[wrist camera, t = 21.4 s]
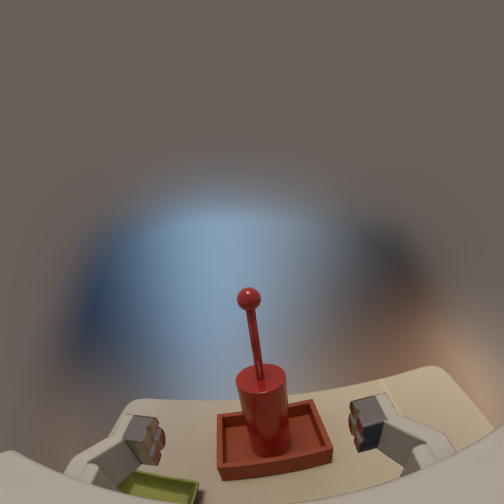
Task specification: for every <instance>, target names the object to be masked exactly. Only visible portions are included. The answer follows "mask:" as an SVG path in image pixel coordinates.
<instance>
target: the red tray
mask: <svg viewBox="0 0 504 504" xmlns="http://www.w3.org/2000/svg"><path fill="white" fill-rule="evenodd" d="M288 407H289V420H290V432H291V446H290V448H289V450H288V451H287V452H286V453H284V454H283V455H281V456H277V457H271V458H263V457H260V456H258V455H256V454H255V453H254V452H253V451H252V449H251V446H250V442H249V438H248V434H247V429H246V425H245V421H244V417H243V412H234V413H225V414H217V469H218V471H219V473H220V476H221V478H222V480H223V481H224V480H237V479H247V478H255V477H263V476H269V475H276V474H281V473H287V472H292V471H297V470H302V469H306V468H310V467H315V466H319V465H322V464H326V463H330V462H332V454H333V446H332V444H331V442H330V439H329V437H328V435H327V432H326V430H325V427H324V425H323V423H322V420H321V418H320V416H319V413H318V411H317V409H316V406H315V404H314V401H313V399H310V400H305V401H301V402H296V403H291V404H288Z"/></svg>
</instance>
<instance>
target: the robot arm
mask: <svg viewBox="0 0 504 504" xmlns="http://www.w3.org/2000/svg"><path fill="white" fill-rule="evenodd" d="M350 410H351V413H350V414H349V428H350V432H351V434H352V435H353V436H355V438H354V443H355V446H356V449H357V452H358V453H360V452H364V451H368V450H372V449H375V448H377V449H378V450H380V451H381V452H382V453H384V454H385V455H387V456H388V457H390V458H391V459H393V460H394V461H395V462H397V463H398V464H400V465H401V466H403V467H404V469H403V471H402V473H401V475H400V477H399V478H397V479H395V480H392V481H389V482H386V483H383V484H380V485H376V486H373V487H370V488H366V489H363V490H359V491H355V492H351V493H347V494H343V495H338V496H333V497H328V498H323V499H318V500H312V501H305V502H298V503H289V504H504V424H502V425H501V426H500V427H498V428H496V429H495V430H493V431H492V432H490V433H489V434H487V435H486V436H484V437H482V438H481V439H479V440H478V441H476V442H474V443H472V444H471V445H469V446H467V447H465V448H464V449H462V450H460V451H458V452H457V451H456V450H455V448H454V447H453V445H452V444H451V442H450V440H449V439H448V437H447V436H446V434H445V433H443V432H440V431H438V430H435V429H433V428H430V427H428V426H426V425H423V424H421V423H419V422H416V421H414V420H412V419H410V418H407V417H405V416H399V414H398V412H397V411H396V409H395V407H394V405H393V404H392V402H391V400H390V399H389V397H388V395H387V394H386V393H385V392H384V393H381V394H377V395H374V396H370V397H366V398H362V399H358V400H354V401H351V402H350ZM158 425H159V421H158V420H157V418H155V417H148V416H139V415H129V414H125V415H123V417H122V418H121V420H120V422H119V424H118V426H117V428H116V430H115V431H114V433H113V435H112V437H108V438H106V439H104V440H102V441H101V442H99V443H97V444H96V445H94V446H92V447H90V448H89V449H87V450H85V451H83V452H82V453H80V454H78V455H76V456H74V457H73V458H72V460H71V462H70V463H69V465H68V467H67V468H66V470H65V472H64V473H63V474H62V473H59V472H57V471H55V470H52V469H50V468H48V467H46V466H43V465H41V464H39V463H37V462H35V461H32V460H31V459H29V458H27V457H25V456H23V455H21V454H19V453H18V452H15V451H12V450H9V451H5V452H1V453H0V504H181V503H173V502H166V501H159V500H153V499H148V498H143V497H138V496H133V495H129V494H124V493H122V492H121V491H120V490H119V489H118V488H117V485H118V484H119V483H121V482H122V481H123V480H124V479H125V478H127V477H128V476H129V475H130V474H131V473H132V472H133V471H135V470H136V469H137V468H138V467H139V466H140V465H141V464H146V465H155V466H158V464H159V461H160V458H161V453H160V451H161V450H162V449H163V448H164V446H165V438H166V437H165V433H164V431H163V429H161V428H160V427H159V426H158Z"/></svg>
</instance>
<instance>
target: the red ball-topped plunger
mask: <svg viewBox="0 0 504 504" xmlns="http://www.w3.org/2000/svg"><path fill="white" fill-rule="evenodd" d="M237 302H238V305H239V306H240V307H241V308H242V309H243V310H246V313H247V321H248V327H249V333H250V340H251V346H252V353H253V359H254V365H252V366H249V367H247V368H245V369H243V370H242V371H241V372H240V373H239V374H238V375H237V377H236V385H237V390H238V395H239V399H240V403H241V408H242V412H243V417H244V421H245V425H246V429H247V434H248V438H249V442H250V446H251V449H252V451H253V452H254V453H255V454H256V455H258V456H260V457H263V458H271V457H277V456H281V455H283V454H284V453H286V452H287V451H288V450H289V448H290V446H291V432H290V420H289V407H288V396H287V384H286V375H285V372H284V371H283V370H282V368H280V367H278V366H276V365H273V364H263V363H262V356H261V349H260V342H259V335H258V328H257V321H256V313H255V309H256V308H257V307H258V306H259V304H260V302H261V297H260V294H259V292H258V291H257V290H256V289H254V288H251V287H248V288H244V289H242V290H241V291H240V292H239V294H238V296H237Z"/></svg>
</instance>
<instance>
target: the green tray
mask: <svg viewBox="0 0 504 504" xmlns="http://www.w3.org/2000/svg"><path fill="white" fill-rule="evenodd" d="M198 486H199V483H198V482H197V481H192V480H184V479H178V478H172V477H166V476H160V475H155V474H151V473H146V472H142V471H139V470H135V471H133V472H132V473H131V474H130V475H129V476H128V477H127V478H125V479H124V480H123V481H122V482H121V483H119V484H118V485H117V488H118V489H119V490H120V491H121V492H122V493H124V494H129V495H133V496H138V497H143V498H148V499H153V500H159V501H166V502H173V503H181V504H194V500H195V497H196V493H197V490H198Z"/></svg>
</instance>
